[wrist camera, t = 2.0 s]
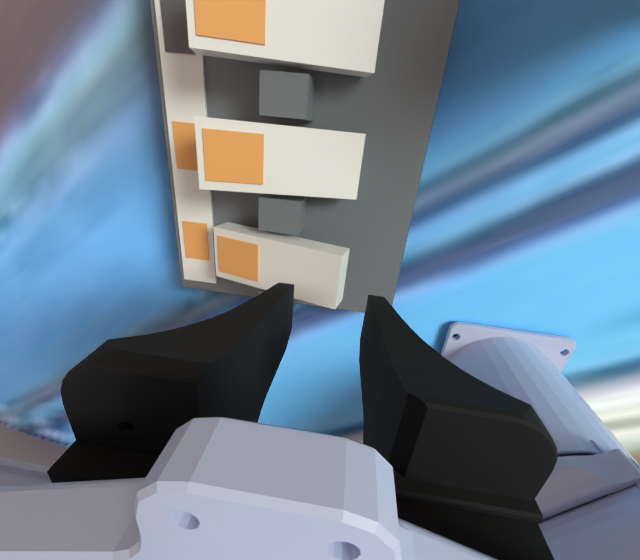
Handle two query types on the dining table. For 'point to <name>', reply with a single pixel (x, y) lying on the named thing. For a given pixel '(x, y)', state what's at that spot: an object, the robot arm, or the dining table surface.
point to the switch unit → (310, 112)
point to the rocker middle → (277, 159)
